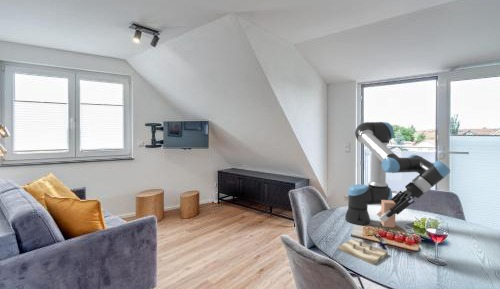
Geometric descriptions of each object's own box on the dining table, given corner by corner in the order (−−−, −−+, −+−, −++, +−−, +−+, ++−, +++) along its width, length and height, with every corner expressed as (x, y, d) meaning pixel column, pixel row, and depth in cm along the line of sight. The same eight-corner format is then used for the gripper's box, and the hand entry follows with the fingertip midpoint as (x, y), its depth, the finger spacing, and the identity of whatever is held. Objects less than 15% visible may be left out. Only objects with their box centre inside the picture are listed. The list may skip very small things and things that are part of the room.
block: (380, 222, 128) (381, 199, 127) (391, 223, 127) (392, 200, 126) (383, 226, 123) (384, 202, 123) (394, 227, 122) (395, 203, 121)
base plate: (352, 241, 134) (353, 235, 134) (387, 254, 120) (388, 247, 120) (337, 249, 126) (337, 242, 126) (373, 264, 112) (373, 256, 111)
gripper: (432, 198, 112) (391, 230, 117) (415, 188, 129) (380, 217, 134) (419, 186, 113) (379, 219, 118) (404, 177, 130) (369, 206, 135)
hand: (379, 217), depth 126 cm, fingers closed on block, 5 cm apart
